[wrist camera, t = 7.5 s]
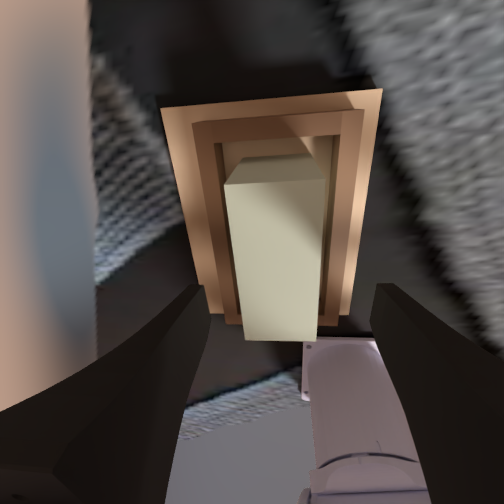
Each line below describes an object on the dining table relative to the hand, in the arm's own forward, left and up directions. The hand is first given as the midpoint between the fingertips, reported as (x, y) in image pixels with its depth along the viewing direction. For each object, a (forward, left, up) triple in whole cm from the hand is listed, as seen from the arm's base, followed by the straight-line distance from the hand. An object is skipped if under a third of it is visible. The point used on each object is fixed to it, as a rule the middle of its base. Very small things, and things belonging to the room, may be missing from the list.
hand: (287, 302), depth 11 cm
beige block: (0, 0, -8) cm, 8 cm away
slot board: (0, 0, -8) cm, 8 cm away
